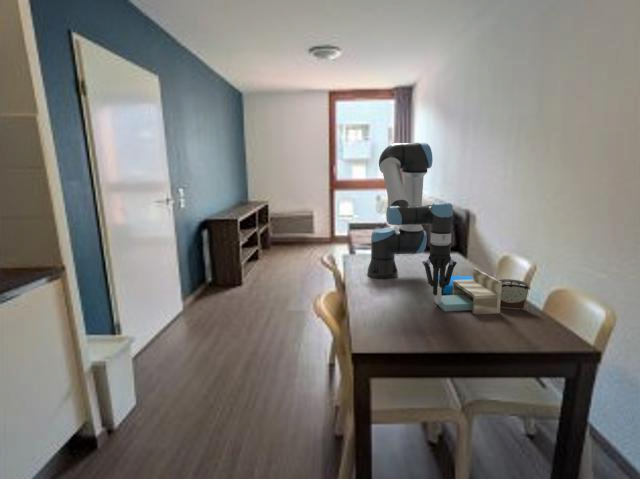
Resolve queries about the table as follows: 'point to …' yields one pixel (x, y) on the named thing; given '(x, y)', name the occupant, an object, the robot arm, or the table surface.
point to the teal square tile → (455, 303)
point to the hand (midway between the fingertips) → (437, 302)
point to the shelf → (480, 292)
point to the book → (449, 288)
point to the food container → (513, 294)
